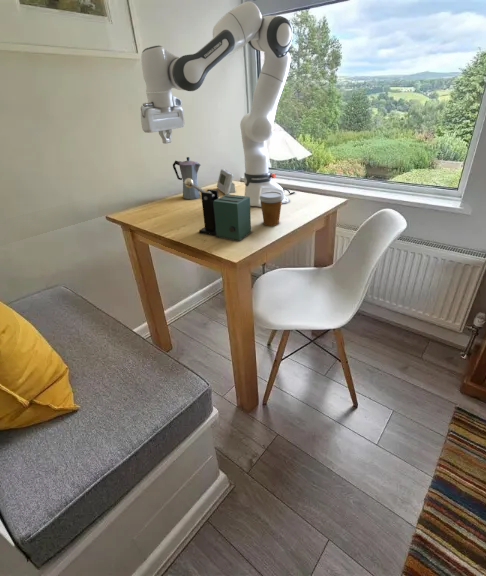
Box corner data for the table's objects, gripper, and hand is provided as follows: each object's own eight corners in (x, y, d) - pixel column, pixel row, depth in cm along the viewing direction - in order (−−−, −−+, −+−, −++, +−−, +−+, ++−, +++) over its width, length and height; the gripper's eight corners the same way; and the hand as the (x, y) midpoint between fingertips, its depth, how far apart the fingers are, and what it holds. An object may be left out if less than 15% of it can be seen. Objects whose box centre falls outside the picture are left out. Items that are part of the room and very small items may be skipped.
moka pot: (201, 200, 165) (196, 159, 155) (173, 199, 168) (166, 158, 157) (207, 195, 173) (203, 155, 162) (180, 194, 176) (174, 155, 165)
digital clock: (216, 188, 185) (215, 168, 179) (232, 186, 186) (231, 167, 181) (219, 195, 171) (217, 175, 166) (236, 194, 173) (235, 173, 167)
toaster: (214, 237, 123) (211, 201, 116) (228, 228, 131) (226, 193, 123) (238, 242, 119) (235, 204, 112) (251, 232, 127) (249, 196, 120)
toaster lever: (181, 185, 123) (183, 177, 121) (187, 183, 126) (189, 175, 124) (209, 203, 121) (211, 195, 119) (214, 200, 124) (216, 192, 122)
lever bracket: (199, 233, 128) (194, 192, 119) (210, 226, 134) (206, 187, 125) (216, 236, 125) (212, 195, 116) (227, 229, 131) (224, 189, 122)
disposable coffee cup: (287, 222, 135) (288, 194, 128) (271, 229, 129) (271, 199, 123) (270, 217, 141) (270, 189, 134) (255, 223, 135) (254, 194, 129)
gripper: (147, 102, 108) (154, 147, 115) (184, 100, 123) (189, 139, 130) (132, 103, 110) (141, 146, 117) (171, 100, 126) (177, 139, 133)
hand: (167, 143), depth 124 cm, fingers closed
